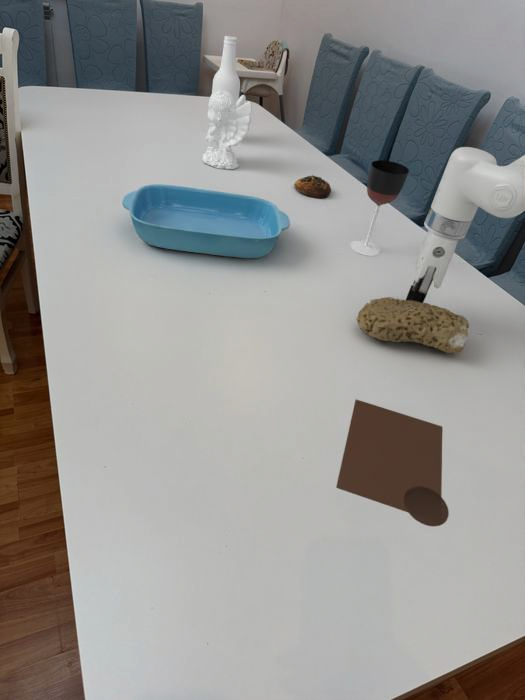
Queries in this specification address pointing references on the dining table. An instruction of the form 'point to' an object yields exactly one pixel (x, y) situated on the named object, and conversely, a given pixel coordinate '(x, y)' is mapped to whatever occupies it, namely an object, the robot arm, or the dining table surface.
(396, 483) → the brown panel with disc
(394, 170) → the wineglass
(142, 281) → the dining table surface
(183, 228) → the casserole dish
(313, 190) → the bread roll
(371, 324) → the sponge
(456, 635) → the dining table surface
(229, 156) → the cherub figurine
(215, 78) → the alcohol
